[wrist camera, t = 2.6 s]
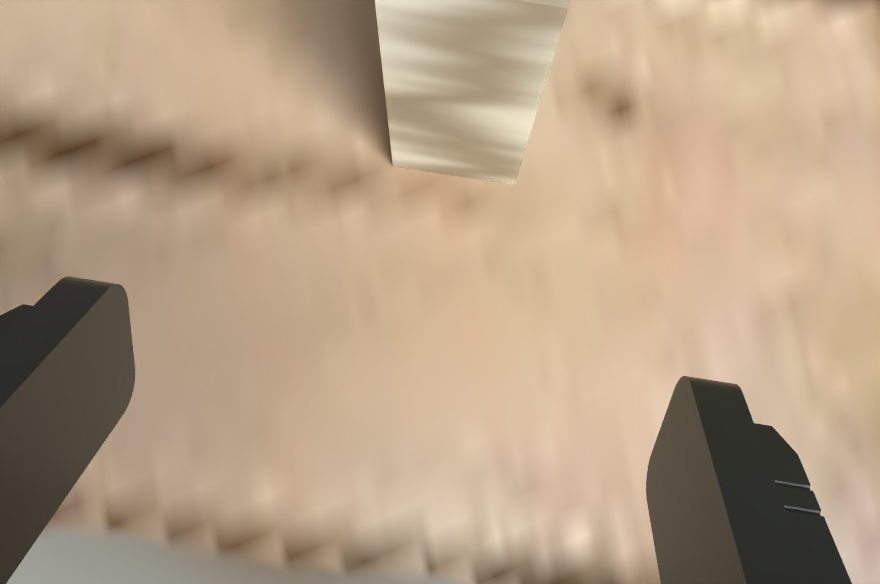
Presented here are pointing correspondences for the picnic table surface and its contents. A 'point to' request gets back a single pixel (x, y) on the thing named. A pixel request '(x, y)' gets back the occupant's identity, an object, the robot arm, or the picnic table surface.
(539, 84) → the birch post
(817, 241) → the picnic table surface
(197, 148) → the picnic table surface
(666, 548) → the robot arm
